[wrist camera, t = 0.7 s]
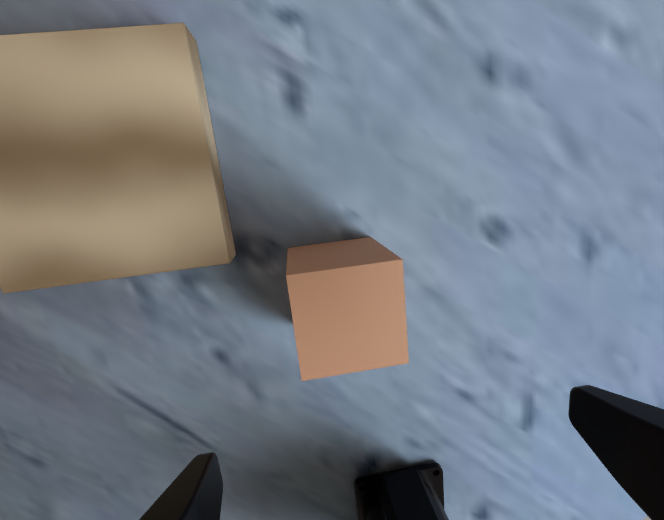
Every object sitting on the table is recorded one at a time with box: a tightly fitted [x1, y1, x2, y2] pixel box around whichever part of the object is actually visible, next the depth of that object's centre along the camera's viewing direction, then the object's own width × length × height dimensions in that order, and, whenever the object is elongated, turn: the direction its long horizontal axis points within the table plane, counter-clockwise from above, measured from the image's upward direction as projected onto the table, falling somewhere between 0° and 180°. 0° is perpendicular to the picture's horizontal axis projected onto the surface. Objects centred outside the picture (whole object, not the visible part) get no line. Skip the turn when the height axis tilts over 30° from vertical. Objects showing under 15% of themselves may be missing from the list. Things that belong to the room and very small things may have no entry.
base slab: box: [0, 23, 236, 293], centre depth 16 cm, size 11×11×2 cm
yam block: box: [286, 237, 409, 381], centre depth 17 cm, size 5×5×6 cm
